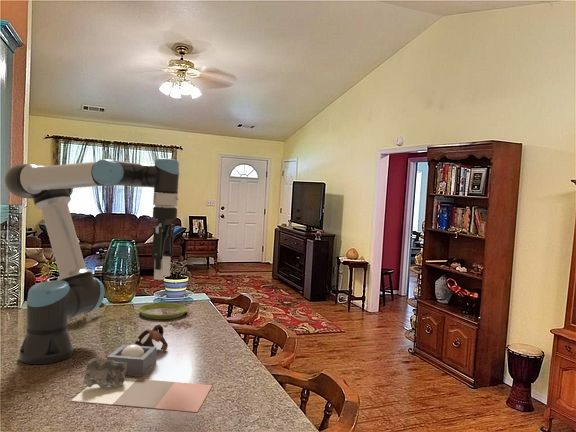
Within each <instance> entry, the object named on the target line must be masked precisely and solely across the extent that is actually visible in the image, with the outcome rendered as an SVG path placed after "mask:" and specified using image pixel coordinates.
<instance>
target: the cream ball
mask: <svg viewBox="0 0 576 432" xmlns="http://www.w3.org/2000/svg"><path fill="white" fill-rule="evenodd" d="M128 345H129V346H127V347H125V348H124V349H123V351H122V353H121V356H129V357H141V356H143V355H144V350H143V349H142V348H141V347H140V346H139V345H135V343H134V344H128Z"/></svg>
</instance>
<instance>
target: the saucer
mask: <svg viewBox="0 0 576 432" xmlns="http://www.w3.org/2000/svg"><path fill="white" fill-rule="evenodd" d="M155 309H172V310H173V309H174V310H178V311H181V312H179V313H178V312H177V313H171V314H153V313H146V312H147V311H150V310H155ZM138 311H139V313H140V315H141V316H142V317H144V318H147V319H151V320H152V319H153V320H172V319H176V318H177V319H178V318H179V317H182V316H184V314H185V313H186V312H187V311H188V308H187V307H186V306H184V305H181V304H178V303H171V302H170V303H169V302H168V303H165V302H164V303H163V302H161V303H160V302H159V303H149V304H145V305H141V306H139V308H138Z"/></svg>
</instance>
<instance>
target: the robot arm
mask: <svg viewBox="0 0 576 432" xmlns="http://www.w3.org/2000/svg"><path fill="white" fill-rule="evenodd" d="M179 175H180V163H179V161H178V159H174V158H165V157H164V158H163V157H162V158H161V157H160V158H159V157H157V158H155V161H154V164H150V163H149V164H147V163H137V162H128V161H121V160H115V159H112V158H107V159H106V158H105V159H99V160H97V161H90V162H80V163H79V162H78V163H68V164H67V163H66V164H56V165H55V164H54V165H39V164H33V163H30V164H29V163H20V164H16V165H14V166H12V167H11V168H10V169H9V170H8V171H7V172H6V174H5V177H4V183H5V187H6V188H7V190H8V191H9V192H10V193H11V194H12V195H13V196H16V197H18V198H22V199H31V200H33V203H34V207H35V208H36V209H38V210H40V211H41V213H42V217H43V220H44V225H45V229H46V231H47V235H48V237H49V238H48V240H49V242H50V245H51V249H52V252H53V256H54V260H55V263H56V266H57V270H58V274H59V276H58V278H57V279H56V280H55V279H54V280H53V279H52V280H49V281H41V282H39V283H35V284H34V285H32V286H31V287H30V288H29V289H28V292H27V299H26V334H25V337H24V339H23V342H22V344H21V346H20V350H19V353H18V355H19V356H18V359H19V361H20V362H21V363H24V364H29V365H47V364H55V363H58V362H61V361H62V362H63V361H64V360H67V359H68V358H70V357H71V356H73V354H74V353H73V352H74V351H73V350H74V349H73V348H74V347H73V344H72V340H71V338H70V334H69V330H68V325H69V324H68V321H69V318H71V319H72V318H73V317H76V316H80V315H84V313H90V312H92V311H94V310H96V309H98V308H100V307H99V306H100V305H101V303H103V301H104V299H105V293H106V292H105V286H104V284H103V282H102V281H101V280H100V279H99V278H97V277H94V274H93V271H92V270H90V269H88V268H87V267H86V262H85V260H84V257H83V252H82V250H81V247H80V243H79V239H78V236H77V232H76V228H75V225H74V221H73V218H72V214H71V211H70V208H69V203H70V201H71V199H72V198H71V195H72V194H73V192H74V191H73V189H79V188H91V187H105V186H106V187H110V186H121V187H122V186H123V187H133V188H137V187H139V188H153V200H152V205H154V206H153V207H152V218H153V219H155V220H157V222H156V226H153V227H152V229H153V230H152V231H153V235H152V236H153V237H152V240H153V241H152V252H151V253H152V254H151V260H154V264H153V265H154V269H153V280H156V281H157V280H161V281H163V280H164V277H170V276H171V261H172V260H171V258H172V257H174V256H175V255H174V239H175V238H174V237H175V236H174V235H175V233H174V232H175V227H176V226H175V224H174V223H173V224H172V220H176V219H178V208H177V206H178V201H179V200H180V197H178V196H179V195H178V193H179V191H178V190H179V179H180V178H179Z"/></svg>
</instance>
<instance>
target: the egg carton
mask: <svg viewBox="0 0 576 432" xmlns="http://www.w3.org/2000/svg"><path fill="white" fill-rule="evenodd" d="M126 369H127V362H117V361H116V362H115V361H113V360H107V359H105V358H104V359H103V358H100V357H94V358H91V359H89V360H88V362H87V364H86V369H85V370H84V379H83V384H85V385H86V388H87V387H92V386H93V385H95V384H97V385H99V386H100V388H105V387H106V386H112V387H113V388H118V387H120V386H122V385H123V383H124V379H125V378H126V375H125V373H126Z"/></svg>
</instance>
